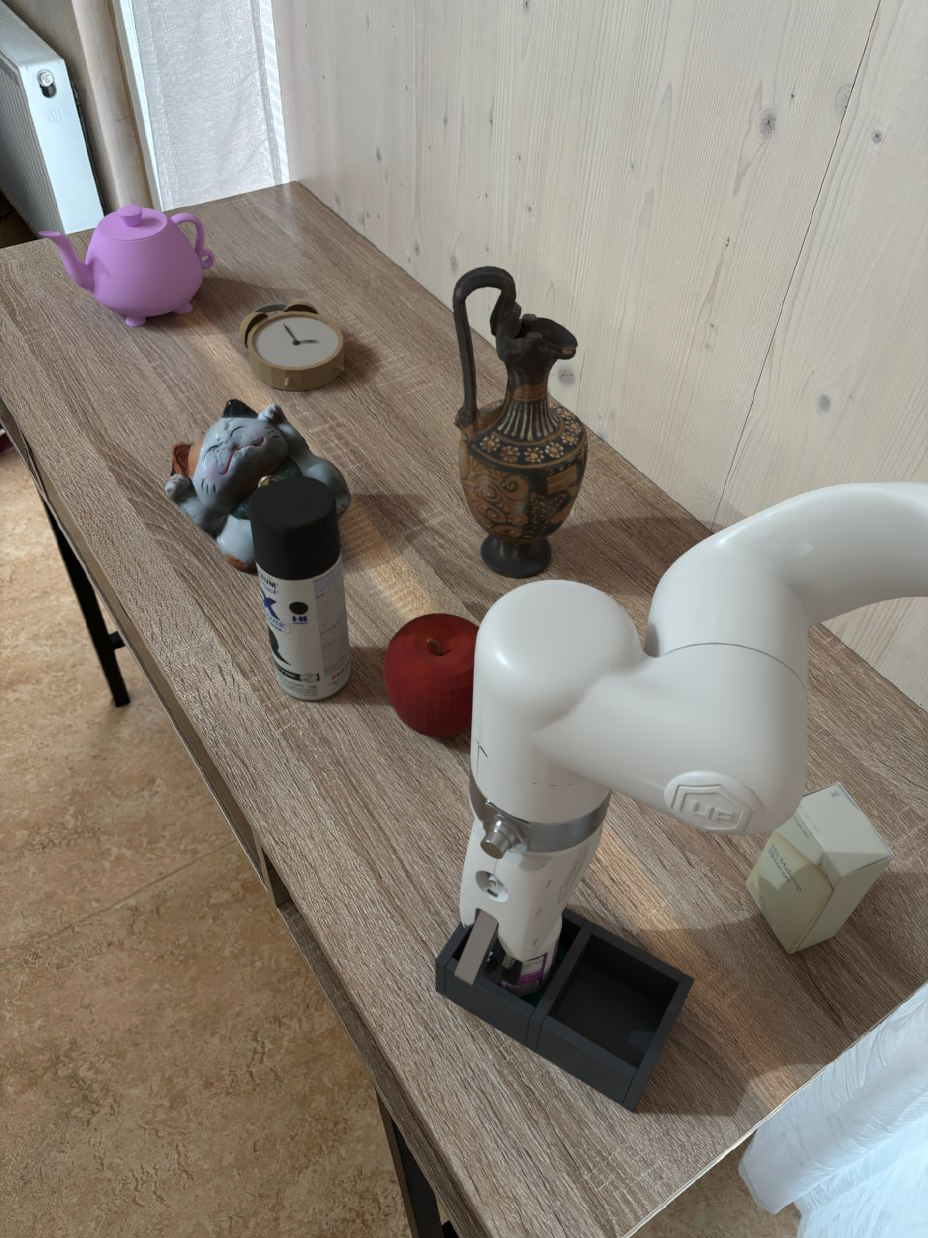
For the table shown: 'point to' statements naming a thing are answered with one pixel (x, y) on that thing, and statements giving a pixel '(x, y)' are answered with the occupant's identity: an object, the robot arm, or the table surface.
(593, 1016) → the holder
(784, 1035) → the table surface
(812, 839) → the cosmetic box
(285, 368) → the alarm clock
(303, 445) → the lucky cat figurine
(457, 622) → the apple
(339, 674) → the spray can
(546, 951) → the pill bottle
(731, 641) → the robot arm
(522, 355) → the vase
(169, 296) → the teapot
